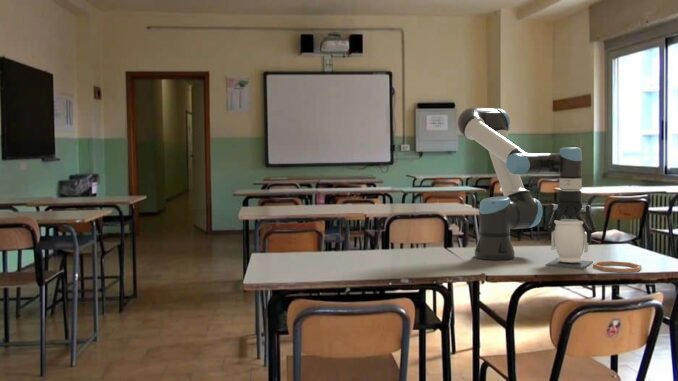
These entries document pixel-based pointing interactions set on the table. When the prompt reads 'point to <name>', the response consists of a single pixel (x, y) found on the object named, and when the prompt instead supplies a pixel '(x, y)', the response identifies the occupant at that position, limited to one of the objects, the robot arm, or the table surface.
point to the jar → (569, 240)
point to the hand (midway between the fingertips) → (569, 250)
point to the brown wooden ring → (635, 269)
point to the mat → (569, 264)
